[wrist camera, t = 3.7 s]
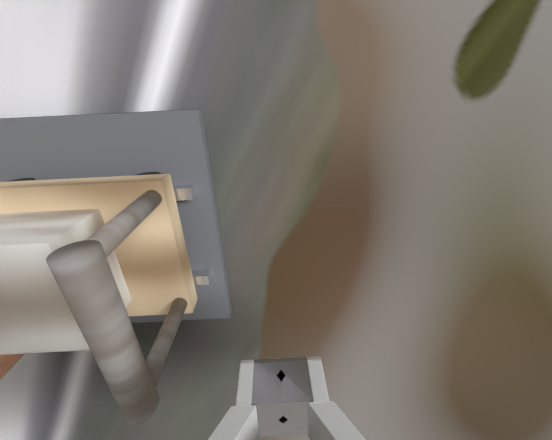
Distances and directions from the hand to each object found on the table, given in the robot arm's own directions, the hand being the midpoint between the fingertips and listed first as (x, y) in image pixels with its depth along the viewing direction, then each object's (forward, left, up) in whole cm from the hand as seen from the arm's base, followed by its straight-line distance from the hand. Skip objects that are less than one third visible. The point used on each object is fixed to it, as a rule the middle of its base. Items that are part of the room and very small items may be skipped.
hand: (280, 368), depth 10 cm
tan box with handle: (0, -12, -10) cm, 16 cm away
